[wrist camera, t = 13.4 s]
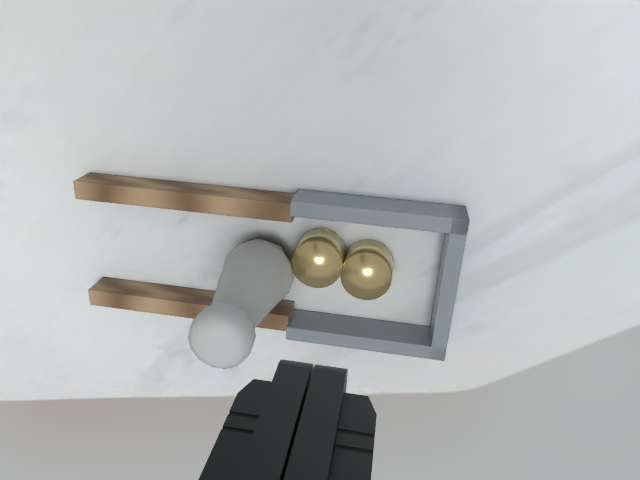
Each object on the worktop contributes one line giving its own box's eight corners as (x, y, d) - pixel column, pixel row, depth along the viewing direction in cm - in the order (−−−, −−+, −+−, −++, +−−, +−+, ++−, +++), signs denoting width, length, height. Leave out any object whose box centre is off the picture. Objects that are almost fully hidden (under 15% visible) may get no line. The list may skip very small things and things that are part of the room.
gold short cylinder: (291, 259, 46) (284, 275, 43) (309, 220, 44) (302, 233, 41) (334, 278, 46) (329, 295, 43) (353, 240, 44) (349, 255, 42)
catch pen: (293, 320, 48) (286, 339, 45) (298, 189, 43) (290, 201, 40) (442, 340, 47) (444, 360, 44) (465, 206, 42) (469, 220, 39)
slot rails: (104, 291, 50) (90, 304, 48) (90, 172, 46) (73, 181, 43) (293, 315, 48) (287, 331, 46) (298, 194, 43) (292, 204, 41)
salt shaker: (268, 302, 48) (221, 399, 36) (220, 260, 47) (155, 344, 35) (312, 262, 46) (277, 351, 34) (262, 216, 45) (208, 291, 33)
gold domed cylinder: (336, 250, 45) (331, 265, 42) (379, 231, 44) (377, 246, 41) (358, 288, 46) (354, 306, 43) (400, 272, 45) (400, 289, 42)
